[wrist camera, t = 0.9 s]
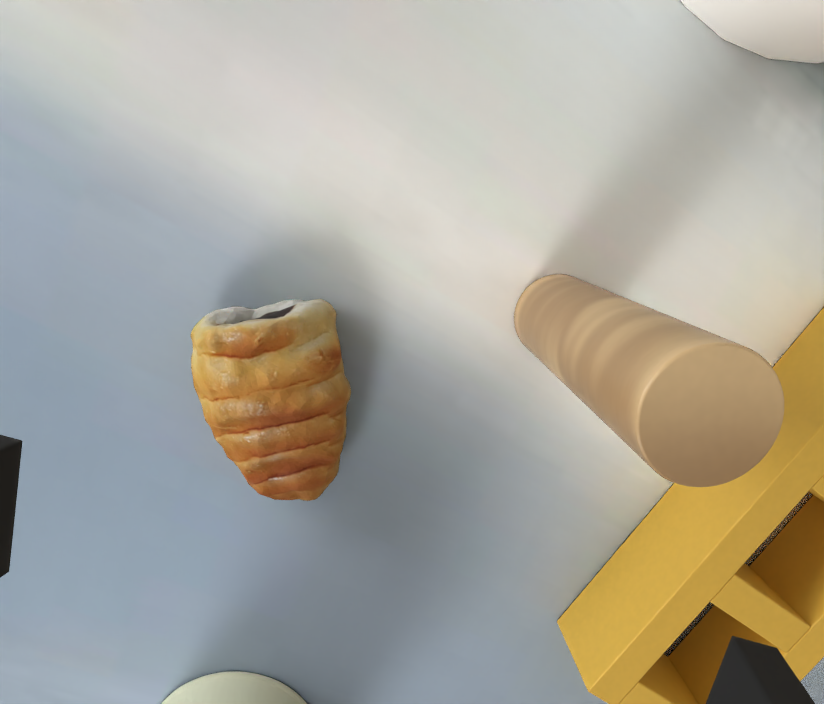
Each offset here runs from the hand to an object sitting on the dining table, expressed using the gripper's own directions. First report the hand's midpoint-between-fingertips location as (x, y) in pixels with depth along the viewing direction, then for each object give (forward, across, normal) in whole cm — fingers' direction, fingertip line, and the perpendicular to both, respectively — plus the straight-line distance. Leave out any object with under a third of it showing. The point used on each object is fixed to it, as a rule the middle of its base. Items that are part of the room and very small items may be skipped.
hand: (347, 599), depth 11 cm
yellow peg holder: (+23, +17, -4) cm, 29 cm away
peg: (+20, +5, +4) cm, 21 cm away
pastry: (+18, -7, -2) cm, 20 cm away
